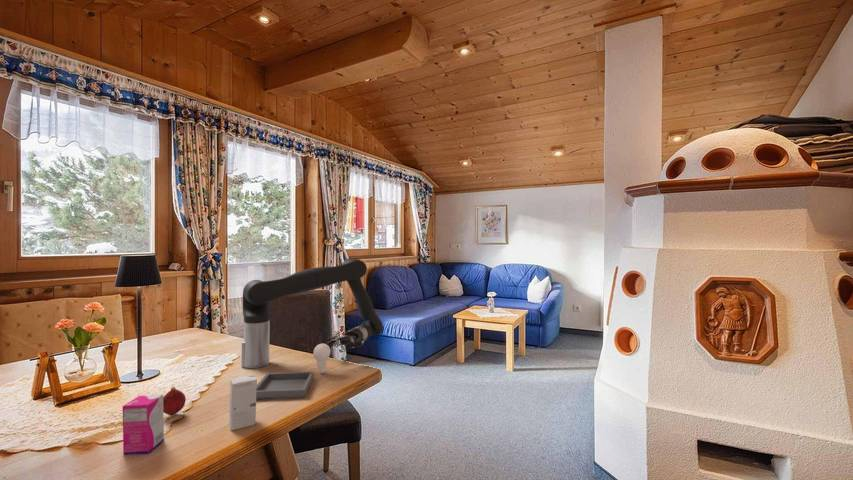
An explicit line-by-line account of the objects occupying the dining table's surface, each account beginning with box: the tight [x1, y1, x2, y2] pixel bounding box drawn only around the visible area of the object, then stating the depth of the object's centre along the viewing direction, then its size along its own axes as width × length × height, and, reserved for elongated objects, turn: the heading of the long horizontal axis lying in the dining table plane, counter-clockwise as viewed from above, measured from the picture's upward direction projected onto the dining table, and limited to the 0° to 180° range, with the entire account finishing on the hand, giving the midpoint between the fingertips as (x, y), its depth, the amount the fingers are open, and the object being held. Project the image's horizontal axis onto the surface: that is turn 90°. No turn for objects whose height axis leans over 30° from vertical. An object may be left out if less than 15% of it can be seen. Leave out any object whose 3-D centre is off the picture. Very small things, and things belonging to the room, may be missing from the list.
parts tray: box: [256, 371, 315, 401], centre depth 121 cm, size 16×16×2 cm
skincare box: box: [228, 375, 258, 431], centre depth 97 cm, size 6×4×12 cm
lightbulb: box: [312, 343, 331, 374], centre depth 135 cm, size 6×6×11 cm
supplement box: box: [122, 394, 165, 456], centre depth 86 cm, size 6×6×12 cm
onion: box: [163, 386, 186, 417], centre depth 102 cm, size 6×6×8 cm
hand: (337, 346), depth 145 cm, fingers open, 8 cm apart
